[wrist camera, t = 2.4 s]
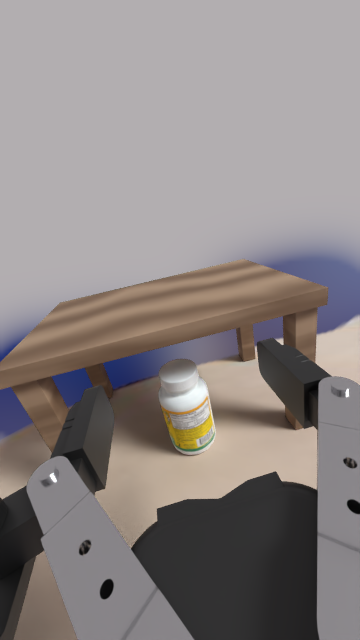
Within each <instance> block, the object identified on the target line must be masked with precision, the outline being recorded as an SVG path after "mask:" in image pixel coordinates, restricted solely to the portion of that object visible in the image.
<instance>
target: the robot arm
mask: <svg viewBox="0 0 360 640" xmlns="http://www.w3.org/2000/svg"><path fill="white" fill-rule="evenodd" d="M257 352H258V362H259V369H260V373H261V375H262V377H263V379H264V380H265V381H266V382H267V384H268V385H269V386H270V387H271V389H272V390H273V391H274V392H275V393H276V395H277V396H278V397H279V398H280V400H281V401H282V402H283V403H284V405H285V406H286V407H287V408H288V409H289V411H290V412H291V413H292V414H293V416H294V417H295V418H296V419H297V421H298V422H299V423H300V424H301V425H302V427H303V428H304V429H305V428H309V427H312V426H314V427H315V428H316V429H317V430H318V433H317V490H316V489H313V488H311V487H309V486H306V485H303V484H299V483H294V482H282V481H281V480H280V478H279V476H278V474H277V472H272V473H269V474H266V475H263V476H260V477H257V478H253V479H250V480H247V481H246V482H244V483H243V484H241V485H240V486H238V487H237V488H235V489H234V490H232V491H231V492H229V493H228V494H227V495H225V496H224V497H222V498H219V499H187V500H183V501H180V502H177V503H174V504H171V505H168V506H164V507H161V508H158V509H157V519H158V521H157V522H155V523H154V524H152V525H151V526H150V527H149V528H148V529H147V530H146V531H145V532H144V533H143V534H142V535H141V536H140V537H139V538H138V540H137V541H136V542H135V544H134V545H133V547H132V548H131V549H130V547H129V546H128V544H127V543H126V542H125V540H124V539H123V537H122V536H121V534H120V533H119V531H118V530H117V529H116V527H115V526H114V524H113V523H112V521H111V520H110V518H109V517H108V515H107V514H106V513H105V511H104V510H103V508H102V507H101V505H100V504H99V502H98V501H97V499H96V498H95V497H94V495H95V492H96V491H99V490H102V489H105V486H106V479H107V471H108V464H109V456H110V449H111V442H112V434H113V427H114V413H113V409H112V406H111V404H110V402H109V400H108V397H107V395H106V393H105V390H104V388H103V387H102V385H99V386H95V387H91V388H88V389H85V390H84V393H83V396H82V398H81V401H80V402H76V403H75V404H74V406H73V407H72V408H71V409H70V410H69V412H68V414H67V417H66V419H65V423H64V424H63V427H62V431H61V432H60V435H59V437H58V440H57V442H56V445H55V447H54V450H53V453H52V455H51V458H50V459H49V460H47V461H46V462H44V463H43V464H42V465H40V466H39V467H38V468H37V469H36V470H35V472H34V473H33V474H32V476H31V477H30V479H29V481H28V483H27V486H25V487H23V488H22V489H20V490H18V491H17V492H15V493H13V494H11V495H10V496H8V497H6V498H4V499H3V500H2V499H1V498H0V640H13V639H14V635H15V631H16V628H17V624H18V620H19V617H20V613H21V609H22V606H23V602H24V599H25V595H26V591H27V588H28V584H29V580H30V577H31V573H32V569H33V566H34V562H35V558H36V556H37V555H38V554H40V553H41V552H42V551H45V553H46V556H47V559H48V561H49V564H50V567H51V569H52V572H53V575H54V577H55V580H56V583H57V585H58V588H59V591H60V593H61V596H62V599H63V602H64V604H65V607H66V610H67V612H68V615H69V618H70V620H71V623H72V626H73V628H74V631H75V634H76V636H77V639H78V640H360V385H359V384H357V383H356V382H354V381H352V380H350V379H347V378H343V377H336V376H334V377H332V376H331V375H329V374H328V373H327V372H326V371H324V370H323V369H322V368H320V367H319V366H318V365H317V364H315V363H314V362H313V361H311V360H309V358H308V357H306V356H305V355H303V353H301V352H300V351H299V350H297V349H296V348H294V347H291V346H288V345H286V344H285V345H281V344H280V343H278V342H277V341H276V340H275V339H274V338H270V339H266V340H263V341H259V342H257Z"/></svg>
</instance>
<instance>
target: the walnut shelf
mask: <svg viewBox="0 0 360 640" xmlns="http://www.w3.org/2000/svg"><path fill="white" fill-rule="evenodd" d="M327 299H328V287H325V286H322V285H319V284H316V283H313V282H310V281H307V280H304V279H301V278H298V277H295V276H292V275H289V274H286V273H283V272H280V271H278V270H275V269H271V268H269V267H265V266H263V265H259V264H257V263H254V262H251V261H248V260H245V259H242V260H237V261H233V262H229V263H225V264H220V265H216V266H212V267H208V268H204V269H200V270H195V271H191V272H187V273H183V274H179V275H174V276H170V277H166V278H162V279H158V280H153V281H149V282H145V283H141V284H137V285H133V286H128V287H124V288H120V289H116V290H112V291H108V292H103V293H99V294H95V295H91V296H87V297H82V298H78V299H74V300H70V301H66V302H61V303H59V304H58V305H57V306H56V307H55V308H54V309H53V311H51V312H50V313H49V314H48V315H47V316H46V317H45V318H44V319H43V320H42V321H41V322H40V324H38V325H37V326H36V328H34V329H33V330H32V331H31V332H30V333H29V334H28V335H27V336H26V337H25V338H24V339H23V340H22V341H21V342H20V343H19V344H18V345H17V346H16V347H15V348H14V349H13V350H12V351H11V352H10V353H9V354H8V355H7V356H6V357H5V358H4V359H3V360H2V361H1V362H0V389H3V388H7V387H11V388H12V389H13V391H14V393H15V394H16V395H17V397H18V399H19V401H20V402H21V404H22V405H23V407H24V408H25V410H26V412H27V413H28V415H29V417H30V418H31V420H32V421H33V423H34V425H35V426H36V428H37V429H38V431H39V433H40V434H41V436H42V437H43V439H44V441H45V442H46V444H47V445H48V447H49V449H50V450H51V452H52V453H53V450H54V447H55V445H56V442H57V440H58V437H59V435H60V432H61V431H62V427H63V424H64V423H65V419H66V417H67V414H68V412H69V410H68V408H67V406H66V404H65V402H64V400H63V398H62V396H61V395H60V393H59V390H58V389H57V387H56V385H55V383H54V381H53V379H52V377H51V376H54V375H58V374H62V373H65V372H69V371H73V370H77V369H81V368H85V369H86V372H87V374H88V376H89V379H90V381H91V383H92V385H93V387H95V386H99V385H102V387H103V388H104V390H105V393H106V395H107V397H108V398H111V397H112V393H113V388H112V385H111V383H110V380H109V378H108V375H107V373H106V370H105V368H104V365H103V363H104V362H108V361H111V360H115V359H119V358H123V357H127V356H131V355H135V354H139V353H142V352H146V351H150V350H154V349H158V348H161V347H165V346H170V345H173V344H177V343H181V342H184V341H189V340H193V339H196V338H200V337H204V336H208V335H211V334H216V333H220V332H223V331H227V330H231V329H235V328H236V333H237V340H238V350H239V356H240V357H241V359H242V360H243V361H244V362H245V361H248V360H252V359H255V348H254V336H253V324H254V323H258V322H262V321H266V320H270V319H274V318H278V317H281V316H283V335H284V336H283V338H284V345H285V344H286V345H288V346H291V347H294V348H296V349H297V350H299V351H300V352H301V353H303V355H305V356H306V357H308V358H309V360H311V361H313V362H314V363H315V355H316V329H317V307H320V306H324V305H327V301H328V300H327ZM285 417H286V418H287V419H288V421H289V422H290V423H291V425H292V426H293V427H294V428H295V430H298V429H301V428H303V427H302V425H301V424H300V423H299V422H298V421H297V419H296V418H295V417H294V416H293V414H292V413H291V412H290V411H289V409H288V408H287V407H286V406H285Z"/></svg>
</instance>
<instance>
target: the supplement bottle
mask: <svg viewBox="0 0 360 640" xmlns="http://www.w3.org/2000/svg"><path fill="white" fill-rule="evenodd" d="M159 379H160V383H161V387H160V390H159V402H160V405H161V408H162V412H163V415H164V418H165V421H166V425H167V428H168V431H169V434H170V438H171V440H172V443H173V445H174V446H175V448H176V449H177V450H178V451H180V452H181V453H183V454H187V455H196V454H200V453H202V452H204V451H206V450H207V449H208V448H209V447H210V446H211V445H212V443H213V442H214V439H215V435H216V430H215V425H214V420H213V415H212V410H211V404H210V399H209V393H208V389H207V385H206V383H205V381H204V380H203V379H202V378H201V377H199V374H198V371H197V366H196V364H195V363H194V362H193V361H191V360H188V359H176V360H173V361H170V362H168V363H166V364H165V365H163V366H162V367H161V369H160V370H159Z"/></svg>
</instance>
